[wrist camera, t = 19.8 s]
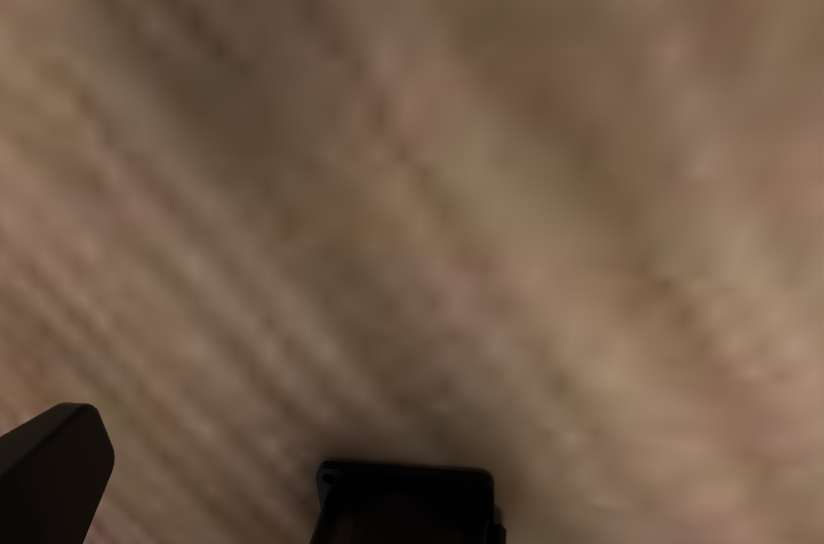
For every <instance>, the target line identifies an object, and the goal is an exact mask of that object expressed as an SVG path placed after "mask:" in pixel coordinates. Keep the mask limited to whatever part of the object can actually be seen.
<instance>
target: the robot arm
mask: <svg viewBox="0 0 824 544" xmlns="http://www.w3.org/2000/svg"><path fill="white" fill-rule="evenodd" d="M114 458H115V455H114V449H113V446H112V444H111V441H110V439H109V436H108V434H107V431H106V429H105V426H104V424H103V421H102V419H101V416H100V414H99V412H98V410H97V409H96V408H95V407H94V406H93V405H90V404H87V403H69V402H66V403H60V404H58V405H56V406H54V407H52V408H50V409H48V410H47V411H45V412H43V413H41V414H40V415H38V416H36V417H34V418H33V419H31V420H29V421H27V422H26V423H24V424H22V425H20V426H19V427H17V428H15V429H13V430H11V431H10V432H8V433H6V434H4V435H3V436H1V437H0V544H83V542H84V539H85V537H86V534H87V532H88V529H89V527H90V524H91V522H92V520H93V517H94V515H95V512H96V510H97V507H98V505H99V502H100V500H101V497H102V495H103V492H104V490H105V488H106V485H107V483H108V480H109V478H110V475H111V473H112V470H113V466H114ZM328 474H331V475H333V476H331V475H328ZM316 481H317V487H318V493H319V499H320V506H321V512H320V515H319V518H318V520H317V523H316V526H315V529H314V532H313V535H312V538H311V541H310V544H506V529H505V528H504V527H503V526H502V525H501V524H495V523H494V481H493V479H492V478H491V477H490V476H488V475H486V474H483V473H475V472H462V471H450V470H437V469H425V468H412V467H400V466H387V465H375V464H362V463H350V462H337V461H325V462H323V463H321V465H320V466H319V468H318V471H317V474H316ZM477 486H480V487H483V488H477Z"/></svg>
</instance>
